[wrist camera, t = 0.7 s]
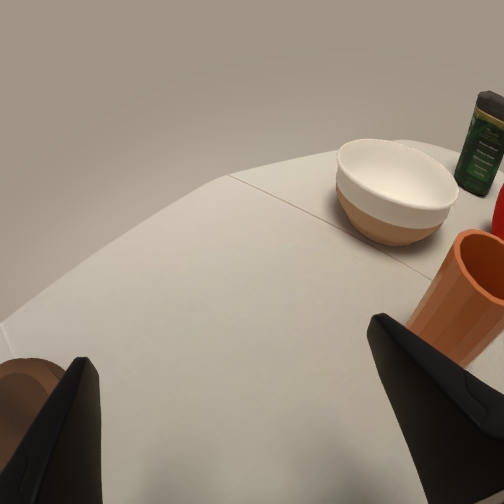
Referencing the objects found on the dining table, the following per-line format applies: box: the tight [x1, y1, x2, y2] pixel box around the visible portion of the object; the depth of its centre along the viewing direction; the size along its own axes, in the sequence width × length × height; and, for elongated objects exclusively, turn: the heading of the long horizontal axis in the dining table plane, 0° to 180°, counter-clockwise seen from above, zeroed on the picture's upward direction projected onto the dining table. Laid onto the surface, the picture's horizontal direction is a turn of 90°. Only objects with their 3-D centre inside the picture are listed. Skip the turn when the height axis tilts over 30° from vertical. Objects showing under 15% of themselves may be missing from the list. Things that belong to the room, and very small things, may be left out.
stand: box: [0, 358, 66, 473], centre depth 18 cm, size 14×14×3 cm
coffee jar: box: [455, 91, 504, 195], centre depth 42 cm, size 10×8×19 cm
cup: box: [404, 229, 504, 370], centre depth 21 cm, size 7×7×12 cm
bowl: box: [336, 139, 459, 246], centre depth 37 cm, size 16×16×8 cm
